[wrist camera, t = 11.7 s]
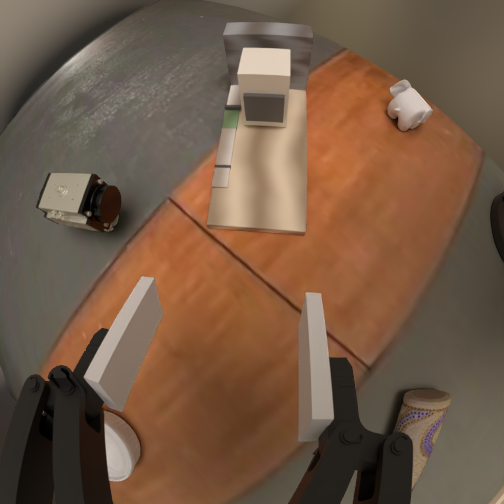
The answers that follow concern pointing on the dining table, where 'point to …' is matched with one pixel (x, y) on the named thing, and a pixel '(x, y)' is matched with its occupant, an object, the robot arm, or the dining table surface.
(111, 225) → the pneumatic valve
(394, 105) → the elephant figurine
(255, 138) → the board
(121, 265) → the dining table surface
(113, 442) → the ramekin
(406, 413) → the decorative bottle
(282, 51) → the block
